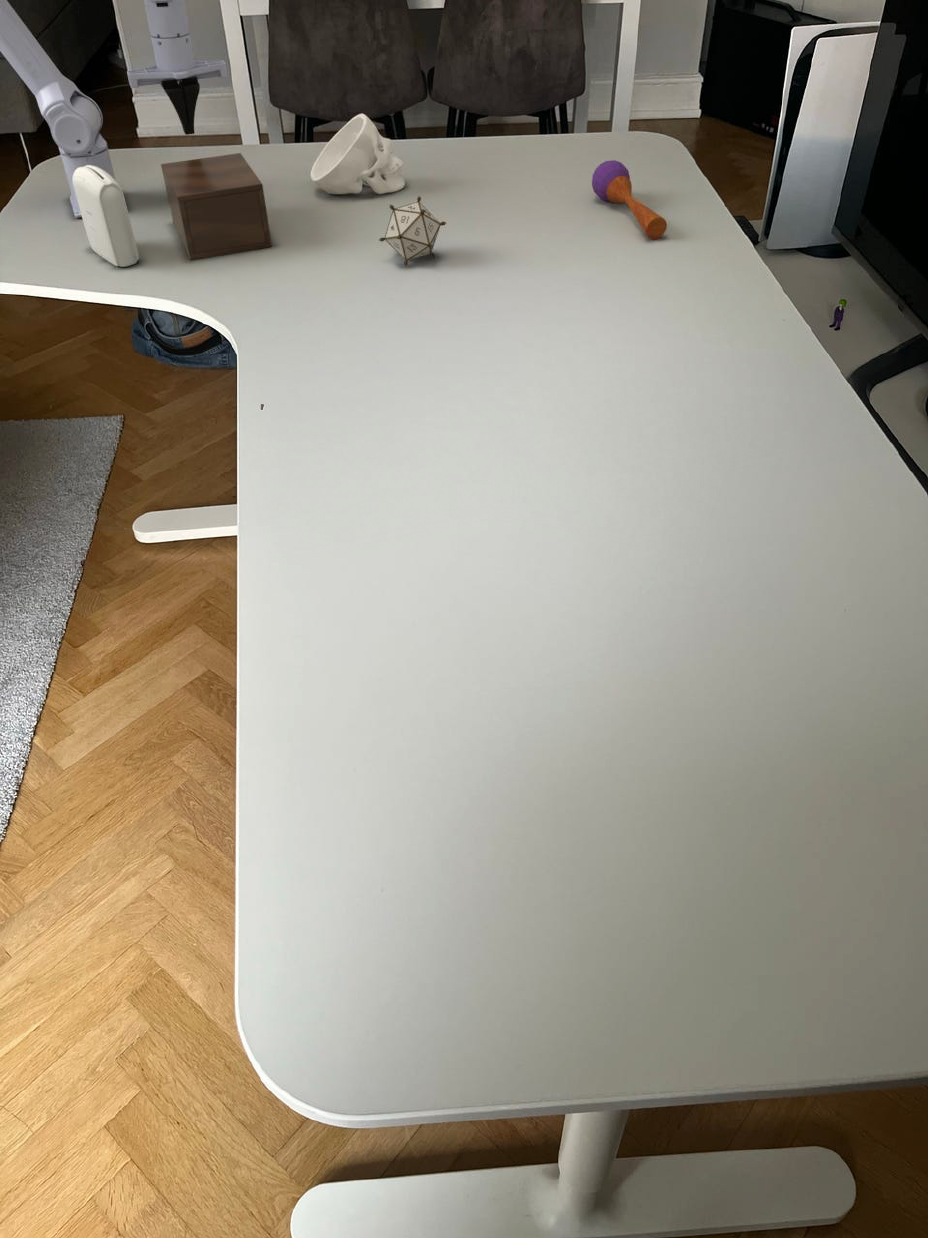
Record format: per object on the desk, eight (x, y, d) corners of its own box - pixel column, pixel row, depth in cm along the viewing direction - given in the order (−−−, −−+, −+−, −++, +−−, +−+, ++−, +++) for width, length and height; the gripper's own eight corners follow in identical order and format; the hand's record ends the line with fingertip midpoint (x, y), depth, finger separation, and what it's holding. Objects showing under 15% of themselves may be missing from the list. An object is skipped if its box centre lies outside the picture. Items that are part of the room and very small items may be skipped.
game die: (403, 286, 145) (357, 235, 139) (424, 245, 149) (379, 193, 143) (445, 269, 139) (399, 215, 133) (466, 227, 142) (422, 172, 137)
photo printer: (87, 249, 148) (63, 162, 140) (114, 241, 150) (91, 155, 142) (116, 270, 142) (93, 181, 134) (144, 262, 144) (123, 174, 136)
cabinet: (173, 224, 155) (160, 163, 148) (250, 212, 158) (240, 152, 152) (190, 260, 145) (177, 196, 138) (271, 246, 148) (262, 183, 142)
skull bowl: (421, 185, 161) (376, 120, 153) (353, 238, 165) (306, 178, 157) (409, 163, 169) (366, 100, 161) (344, 215, 172) (299, 156, 164)
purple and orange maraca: (636, 215, 144) (584, 160, 157) (638, 252, 148) (587, 196, 161) (674, 202, 144) (619, 149, 157) (675, 240, 149) (621, 185, 162)
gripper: (123, 45, 141) (145, 146, 150) (224, 34, 145) (240, 133, 154) (117, 34, 146) (139, 132, 155) (215, 23, 150) (231, 120, 159)
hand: (189, 132), depth 155 cm, fingers closed
